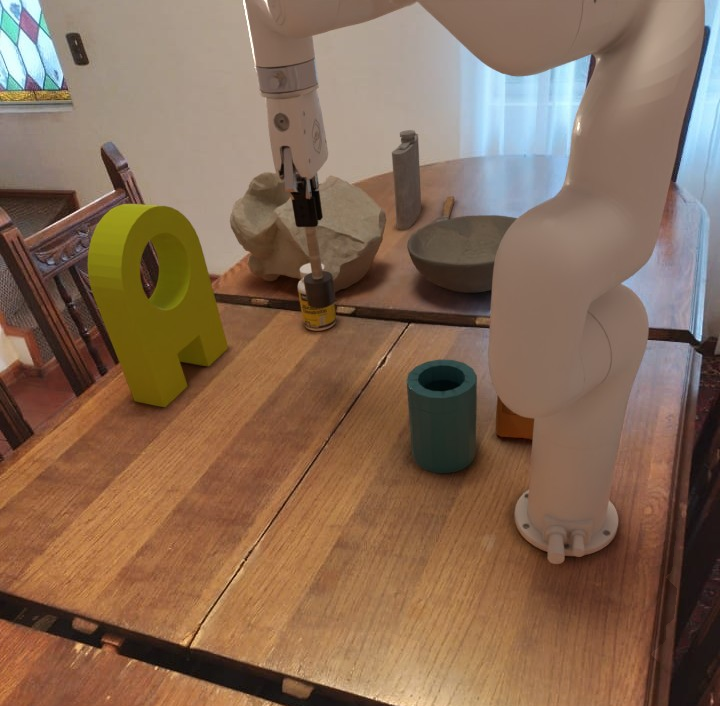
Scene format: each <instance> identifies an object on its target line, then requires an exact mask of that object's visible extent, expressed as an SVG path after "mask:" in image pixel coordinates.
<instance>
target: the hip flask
mask: <svg viewBox="0 0 720 706" xmlns="http://www.w3.org/2000/svg"><path fill="white" fill-rule="evenodd" d="M399 138H400V144H399V146H397V147H396V148H395V149H394V150H393V151H391V161H392V176H393V177H392V178H393V189H394V192H393V193H394V201H395V202H394V205H395V219H396V229H397V230H399V231H406V230H409V229H411V228H412V226H414V224H415V223H416V221H418V219H419V217H420V215H421V212H422V192H421V172H420V171H421V169H420V167H421V166H420V150H419V149H420V146H419V133H416V131H415V130H412V129H408V130H406V129H405V130H402V131H400V132H399Z"/></svg>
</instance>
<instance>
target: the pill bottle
mask: <svg viewBox="0 0 720 706" xmlns="http://www.w3.org/2000/svg"><path fill="white" fill-rule="evenodd" d="M321 266H322V271H325V267H324V265H323V264H321ZM309 273H312V271H311V265H310V263H308V264H305V265H303V266H302V267H301V268H300V276H301V278H302V279H301V280H300V279H299V281H298V283H297V293H298V297H299V298H298V300H299V305H300V311H301V316H302V321H303V326H304V327H306V329H308V330H310V331H318V332H319V331H320V332H321V331H324V330H328V329H330V328H332V327H333V326H334V325H335V324H336V322H337V315H336V313H337V312H336V307H335V302H334V303H333V304H332V305H330V306H328V307H324V308H313V307H310V306H309V305H308V303H307V297H306V292H305V286H304V277H305V276H306V275H307V274H309Z"/></svg>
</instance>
